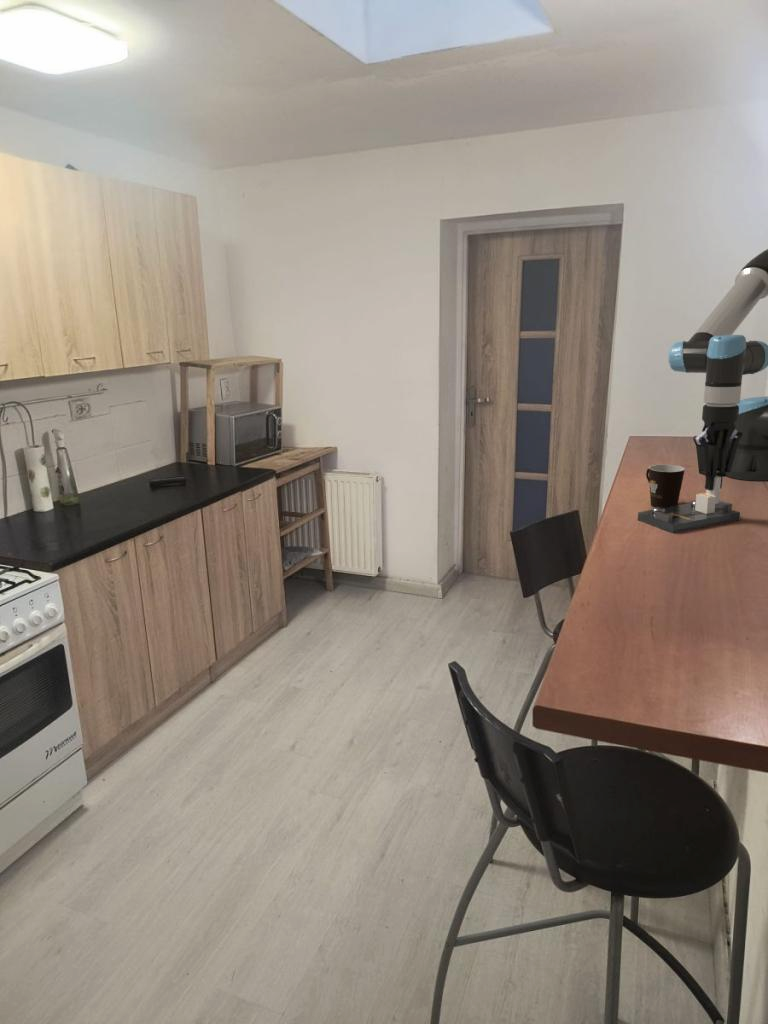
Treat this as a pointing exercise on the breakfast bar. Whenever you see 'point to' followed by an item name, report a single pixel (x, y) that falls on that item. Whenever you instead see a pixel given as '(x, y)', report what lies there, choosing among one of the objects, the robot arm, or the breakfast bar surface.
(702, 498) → the fader knob
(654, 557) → the breakfast bar surface
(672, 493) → the coffee mug
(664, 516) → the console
